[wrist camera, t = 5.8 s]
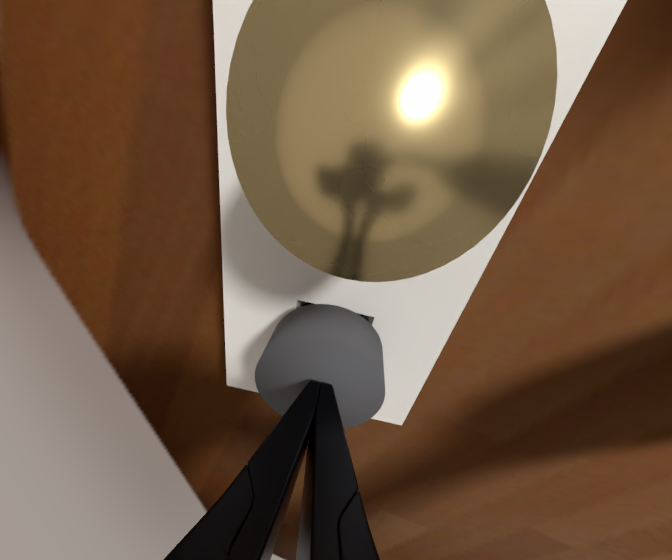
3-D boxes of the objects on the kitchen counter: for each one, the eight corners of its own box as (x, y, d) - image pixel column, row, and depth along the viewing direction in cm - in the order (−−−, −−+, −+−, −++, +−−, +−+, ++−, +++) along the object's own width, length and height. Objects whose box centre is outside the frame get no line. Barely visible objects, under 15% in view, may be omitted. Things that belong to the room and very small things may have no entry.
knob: (367, 356, 14) (366, 440, 10) (285, 338, 15) (252, 414, 10) (391, 285, 12) (403, 356, 8) (294, 263, 12) (256, 323, 8)
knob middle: (421, 233, 9) (463, 305, 5) (291, 204, 9) (228, 253, 5) (482, 65, 7) (654, -59, 3) (309, 28, 7) (221, -144, 3)
